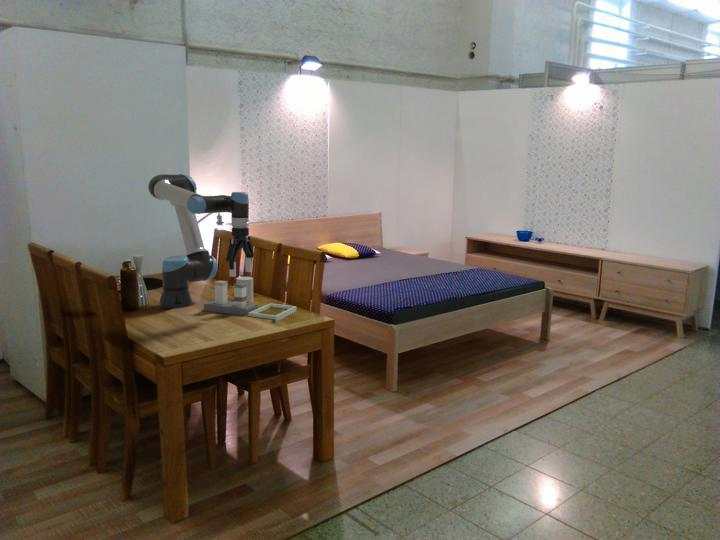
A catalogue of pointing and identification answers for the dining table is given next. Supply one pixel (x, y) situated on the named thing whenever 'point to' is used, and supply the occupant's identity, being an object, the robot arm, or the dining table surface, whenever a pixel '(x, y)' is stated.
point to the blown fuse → (240, 294)
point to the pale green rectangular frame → (276, 317)
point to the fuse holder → (229, 308)
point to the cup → (249, 287)
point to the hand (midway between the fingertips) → (240, 274)
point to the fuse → (221, 292)
